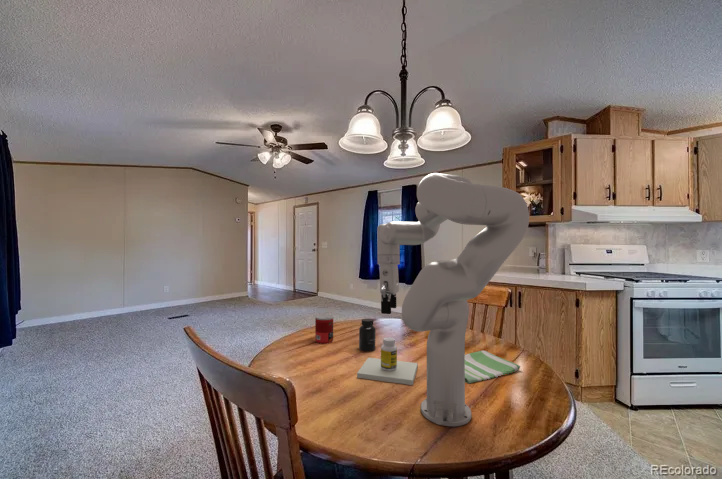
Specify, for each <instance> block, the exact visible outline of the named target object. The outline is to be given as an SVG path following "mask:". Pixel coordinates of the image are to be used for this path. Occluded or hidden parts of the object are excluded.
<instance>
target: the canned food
mask: <svg viewBox="0 0 722 479" xmlns="http://www.w3.org/2000/svg"><path fill="white" fill-rule="evenodd" d="M314 339H315V343H317V344H320V343H321V344H322V345H323V344H324V345H325V344H326V345H327V343H328V344H331V343H332V342H333V341H334V316H333V315H332V314H319V315H316V316H315V338H314ZM321 344H320V345H321Z"/></svg>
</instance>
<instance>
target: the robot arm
mask: <svg viewBox="0 0 722 479" xmlns="http://www.w3.org/2000/svg"><path fill="white" fill-rule="evenodd" d="M416 198H417V201H418V202H417V203H416V206H415V210H414V212H415V215H416V218H417V220H418V221H404V220H403V221H402V220H401V221H400V220H399V221H398V220H393V221H389V222H387V223H381V224H378V226H377V227H376V228H377V229H376V231H377V232H376V234H377V236H376V237H377V241H376V242H377V244H376V245H377V265H379V268H380V269H379V292H380V297H381V298H380V313H381V314H382V315H391V314H392V309H397V293H399V291H400V284H399V283H400V282H399V280H400V279H399V268H398V267H399V266H398V265H401V261H400V260H401V259H400V258H401V257H400V256H401V255H400V246H404V245H405V246H417V245H418V246H419V245H422V244H425V243H427V241H430V240H431V239H433V238H434V237H436V236H437V234H438V232H439V230H440V226H441V224H443V223H444V222H446V221H447V220H449V221H451V222H454V223H456V224H460V225H469V226H485V227H484V228H483V229H482V230H481V231H480V232H478V233H476V234H475V235H474V236H473V237H472V238H471V239H470V240H469V241H468V242H467V244H466V246H465V247H464V248H463V250H462V252H461V253H460V254H459V255H458V256H457V257H456V258H453V259H449V260H448V259H447V260H446V259H444V260H435V261H431V262H429V263H428V264H426V265H424V267H422V269H421V270H420V271H419V273H418V275H417V276H416V278H415V279H414V281H413V283H412V284H411V286H410V288H409V290H408V292H407V293H406V295H405V296H404V300H403V302H402V306H401V317H402V320H403V323H404V324H405V326H406V327H407V328H408V329H410V330H411V331H415V332H428V335H427V339H426V398H425V399H424V400H422V402H421V403H420V412H421V414H422V416H424V418H426V419H427V420H428V421H430V422H432V423H434V424H437V425H439V426H446V427H462V426H464V425H466V424H468V423H469V422H470V421H471V419H472V410H471V408H470V407H469V406H468V405H467V404H466V403H465V402H466V393H465V392H466V385H465V384H466V382H465V355H466V352H465V351H466V349H465V348H466V331H467V325H468V321H469V315H470V313H469V312H470V308H469V307H470V306H469V302H468V300H473V299H475V298H476V297H478V296H479V295H480V294H481V293H482V292H483V290H484V289H485V288H486V286H487V285H488V284H489V282H491V280H492V279H493V278H494V276H495V275H496V274H497V272H498V271H499V269H501V267H502V265H503V264H504V263H505V262H506V261H507V259H509V257H510V256H511V255H512V253H513V252H514V251H515V250H516V248H518V246H520V244H521V242H522V241H523V240H524V237H525V236H526V234H527V231H528V228H529V224H530V211H529V207H528V204H527V201H526V200H525V198H524V197H523V196H522V195H521V194H520V193H519V192H517V191H515V190H513V189H510V188H507V187H503V186H495V185H490V184H489V185H487V184H477V183H473V182H472V181H471V180H470V179H468V178H466V177H465V176H461V175H457V174H447V173H441V172H440V173H439V172H433V173H429V174H427V175H425V176H423V178H422V179H421V181H420V182H419V183H418V186H417V189H416Z"/></svg>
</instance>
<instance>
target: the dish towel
mask: <svg viewBox="0 0 722 479" xmlns="http://www.w3.org/2000/svg"><path fill="white" fill-rule="evenodd" d="M520 368H521V365H520V364H517V363H514V362H513V361H510V360H507V359H505V358H502V357H500V356H497V355H495V354H493V353H491V352H488V350H483V349H482V350H479V351H474V352H470V353H465V384H473V383H477V382H481V381H482V380H483V381H487V379H488V380H492V379H495V378H494V377H496V378H499V377H498V376H501V375H505V374H508V375H510V374H509V373H511V374H513V373H512V372H514V373H515V372H517V371H519V370H520ZM505 376H506V375H505ZM501 377H502V376H501ZM491 378H492V379H491Z"/></svg>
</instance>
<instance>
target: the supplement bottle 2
mask: <svg viewBox="0 0 722 479" xmlns="http://www.w3.org/2000/svg"><path fill="white" fill-rule="evenodd" d="M382 343H383V344H382V345H381V346H380V359H381V368H382V369H383V370H386V371H393V370H395V369H396V368H397V361H398V356H397V355H398V348H397V345H396V339H395V338H394V337H389V336H388V337H384V338H383V340H382Z"/></svg>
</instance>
